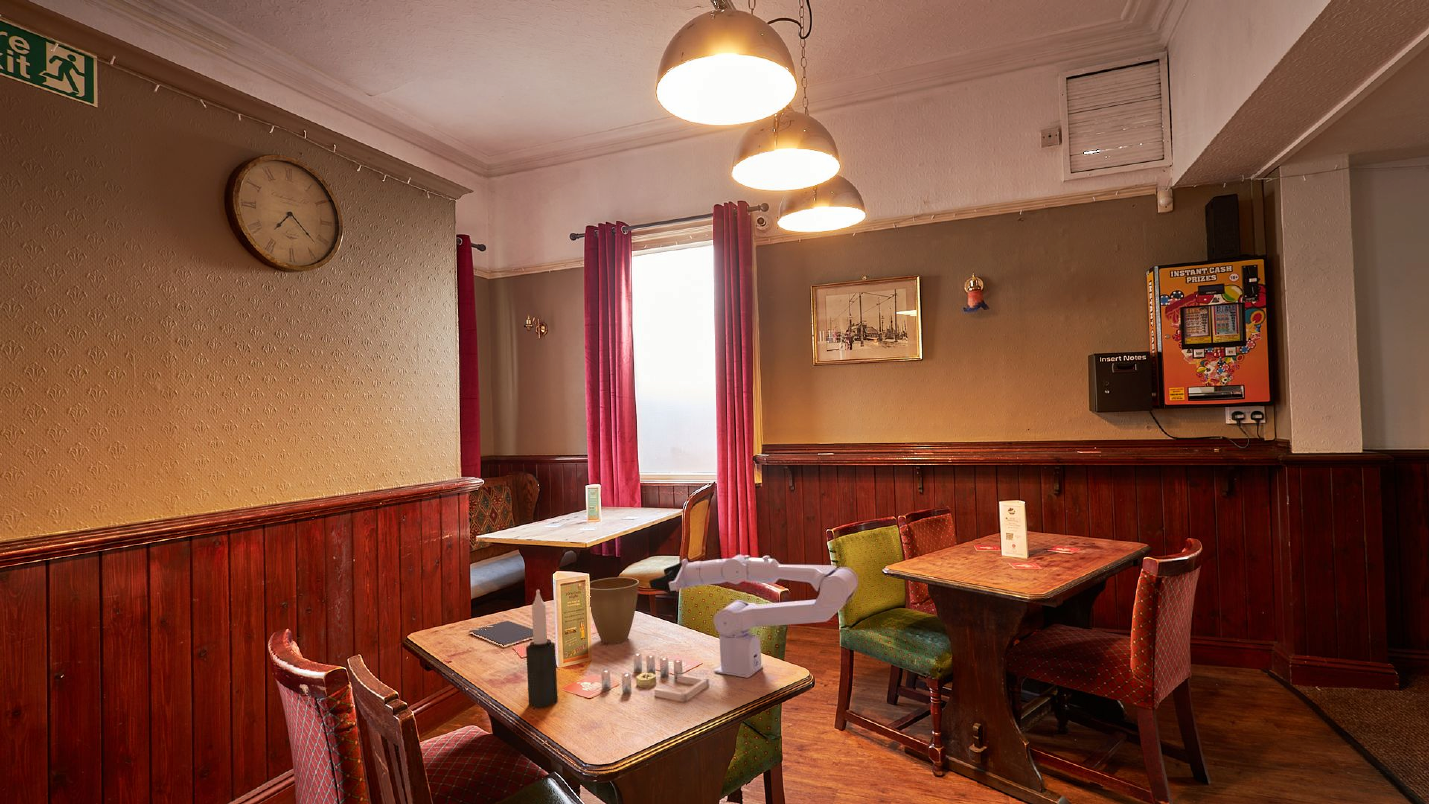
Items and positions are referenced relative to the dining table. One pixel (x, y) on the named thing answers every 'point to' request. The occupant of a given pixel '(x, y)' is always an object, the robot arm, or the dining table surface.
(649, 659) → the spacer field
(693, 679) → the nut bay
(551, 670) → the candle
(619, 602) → the plant pot
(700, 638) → the dining table surface
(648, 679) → the brass nut
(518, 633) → the notebook
